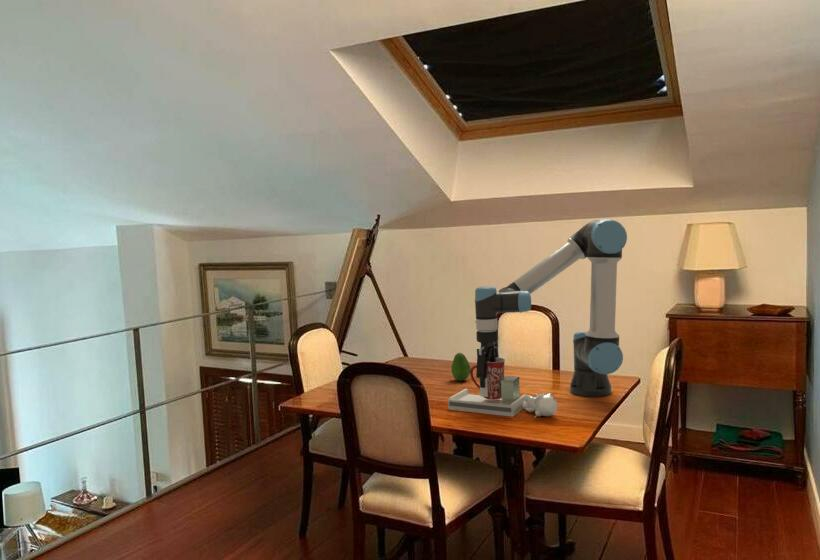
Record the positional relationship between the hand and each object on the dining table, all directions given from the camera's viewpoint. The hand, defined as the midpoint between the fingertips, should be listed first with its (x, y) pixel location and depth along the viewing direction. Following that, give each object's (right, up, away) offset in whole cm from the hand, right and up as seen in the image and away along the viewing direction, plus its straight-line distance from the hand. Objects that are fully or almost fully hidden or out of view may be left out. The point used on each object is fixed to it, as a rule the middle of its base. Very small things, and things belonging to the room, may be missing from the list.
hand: (489, 392), depth 219 cm
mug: (0, -2, 0) cm, 2 cm away
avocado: (-7, -3, +41) cm, 42 cm away
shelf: (0, -5, -1) cm, 5 cm away
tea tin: (+7, -3, -5) cm, 9 cm away
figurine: (+16, -5, -11) cm, 20 cm away
